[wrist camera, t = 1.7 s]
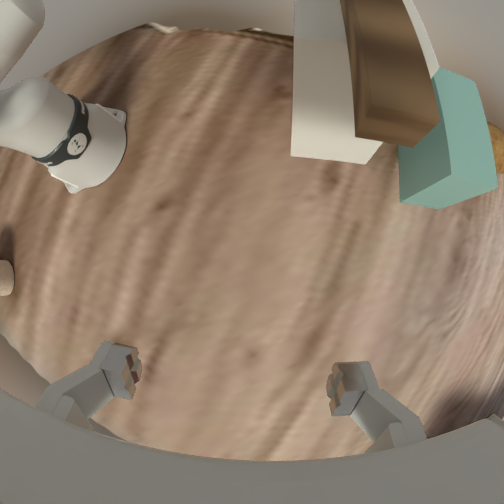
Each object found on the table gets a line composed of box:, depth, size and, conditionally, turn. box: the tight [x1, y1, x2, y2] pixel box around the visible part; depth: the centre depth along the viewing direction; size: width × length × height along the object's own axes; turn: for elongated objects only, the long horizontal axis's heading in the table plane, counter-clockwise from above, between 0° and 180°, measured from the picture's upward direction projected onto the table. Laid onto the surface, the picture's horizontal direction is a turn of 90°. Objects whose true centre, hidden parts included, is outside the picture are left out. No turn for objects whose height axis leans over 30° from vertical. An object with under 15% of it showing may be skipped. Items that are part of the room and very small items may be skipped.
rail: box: [340, 0, 440, 148], centre depth 13 cm, size 22×4×4 cm, turn 175°
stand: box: [291, 0, 439, 164], centre depth 28 cm, size 12×18×26 cm, turn 175°
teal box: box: [398, 67, 498, 209], centre depth 31 cm, size 8×16×16 cm, turn 175°
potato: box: [487, 122, 504, 174], centre depth 34 cm, size 10×14×8 cm
